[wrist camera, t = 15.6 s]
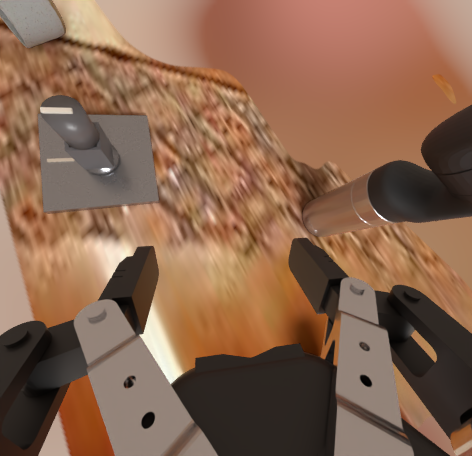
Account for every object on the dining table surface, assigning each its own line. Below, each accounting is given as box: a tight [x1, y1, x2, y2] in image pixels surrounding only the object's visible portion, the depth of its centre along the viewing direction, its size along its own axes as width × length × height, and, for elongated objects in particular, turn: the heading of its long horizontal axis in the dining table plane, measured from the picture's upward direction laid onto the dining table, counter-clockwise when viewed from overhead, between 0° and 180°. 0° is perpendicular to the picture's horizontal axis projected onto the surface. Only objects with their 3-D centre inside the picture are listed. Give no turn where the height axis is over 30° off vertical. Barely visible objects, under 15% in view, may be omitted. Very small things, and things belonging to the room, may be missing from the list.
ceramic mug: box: [0, 0, 66, 48], centre depth 35 cm, size 11×8×8 cm
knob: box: [40, 95, 114, 169], centre depth 30 cm, size 5×5×11 cm
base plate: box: [38, 114, 160, 214], centre depth 35 cm, size 18×18×5 cm
